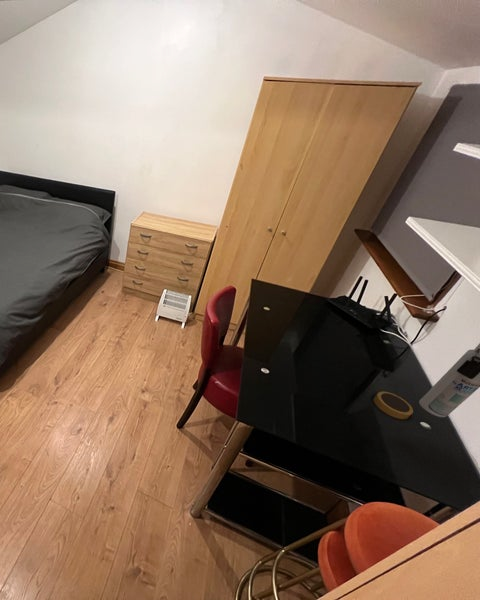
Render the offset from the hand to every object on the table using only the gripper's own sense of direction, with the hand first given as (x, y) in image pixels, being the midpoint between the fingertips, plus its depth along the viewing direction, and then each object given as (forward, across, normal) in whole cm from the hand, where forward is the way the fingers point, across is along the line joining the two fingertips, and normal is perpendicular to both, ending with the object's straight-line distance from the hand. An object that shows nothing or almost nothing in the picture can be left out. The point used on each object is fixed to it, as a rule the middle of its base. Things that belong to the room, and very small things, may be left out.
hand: (471, 371), depth 85 cm
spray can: (+15, 0, 0) cm, 15 cm away
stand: (+32, +14, +9) cm, 36 cm away
